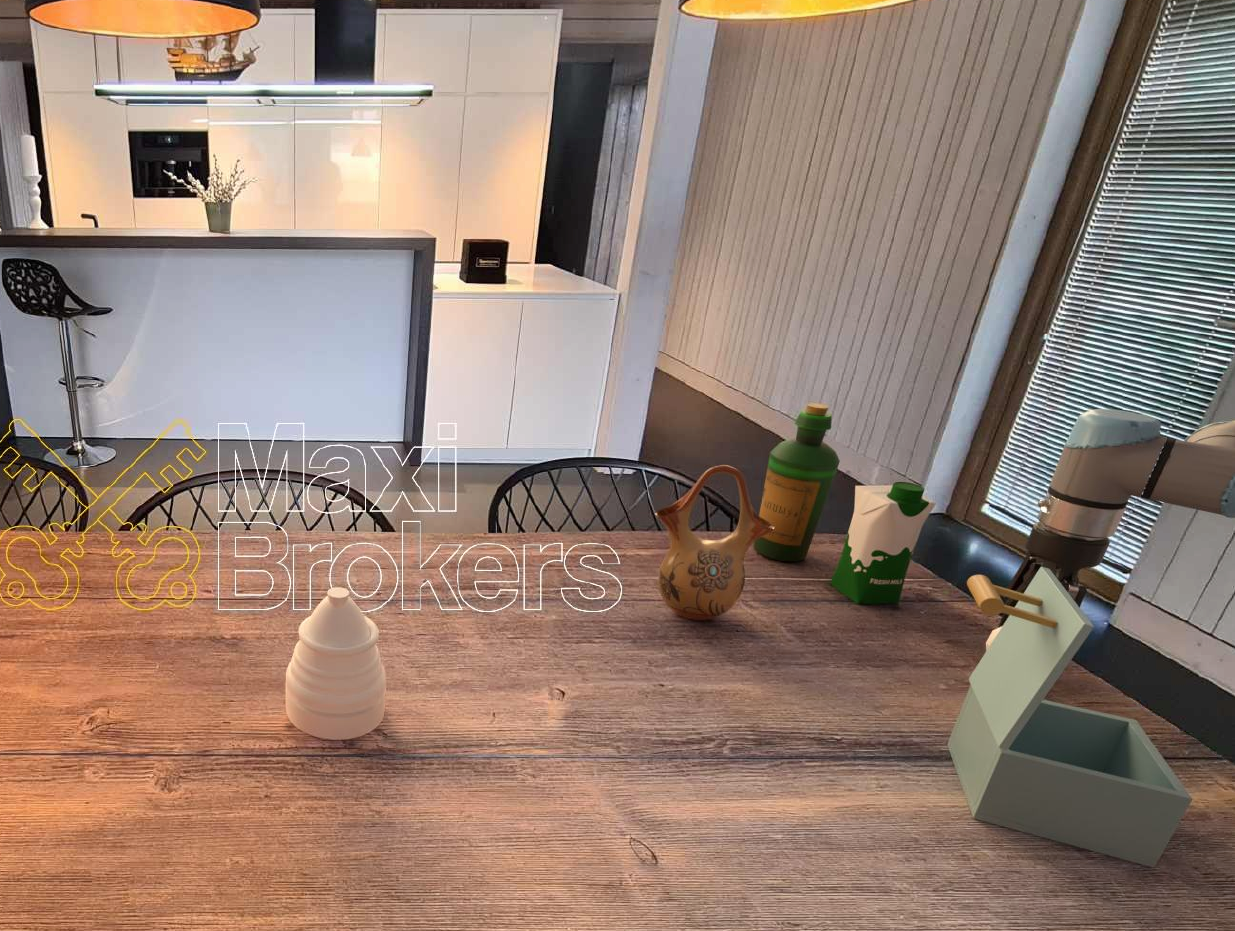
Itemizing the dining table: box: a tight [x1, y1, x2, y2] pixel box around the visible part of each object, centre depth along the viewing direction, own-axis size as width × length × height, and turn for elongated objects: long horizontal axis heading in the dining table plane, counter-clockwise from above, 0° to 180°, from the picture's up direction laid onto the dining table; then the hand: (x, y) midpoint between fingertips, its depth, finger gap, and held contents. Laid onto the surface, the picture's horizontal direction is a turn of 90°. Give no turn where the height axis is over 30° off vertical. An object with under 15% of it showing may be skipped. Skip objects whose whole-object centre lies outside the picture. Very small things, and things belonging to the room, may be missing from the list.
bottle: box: [753, 402, 841, 563], centre depth 143 cm, size 11×11×28 cm
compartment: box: [946, 684, 1193, 869], centre depth 88 cm, size 15×14×9 cm
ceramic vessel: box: [654, 464, 774, 621], centre depth 122 cm, size 16×9×25 cm, turn 73°
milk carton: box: [829, 481, 937, 605], centre depth 130 cm, size 9×9×20 cm
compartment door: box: [966, 567, 1095, 750], centre depth 87 cm, size 16×14×7 cm
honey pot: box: [285, 586, 388, 741], centre depth 101 cm, size 13×13×18 cm
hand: (1012, 672), depth 113 cm, fingers open, 11 cm apart
